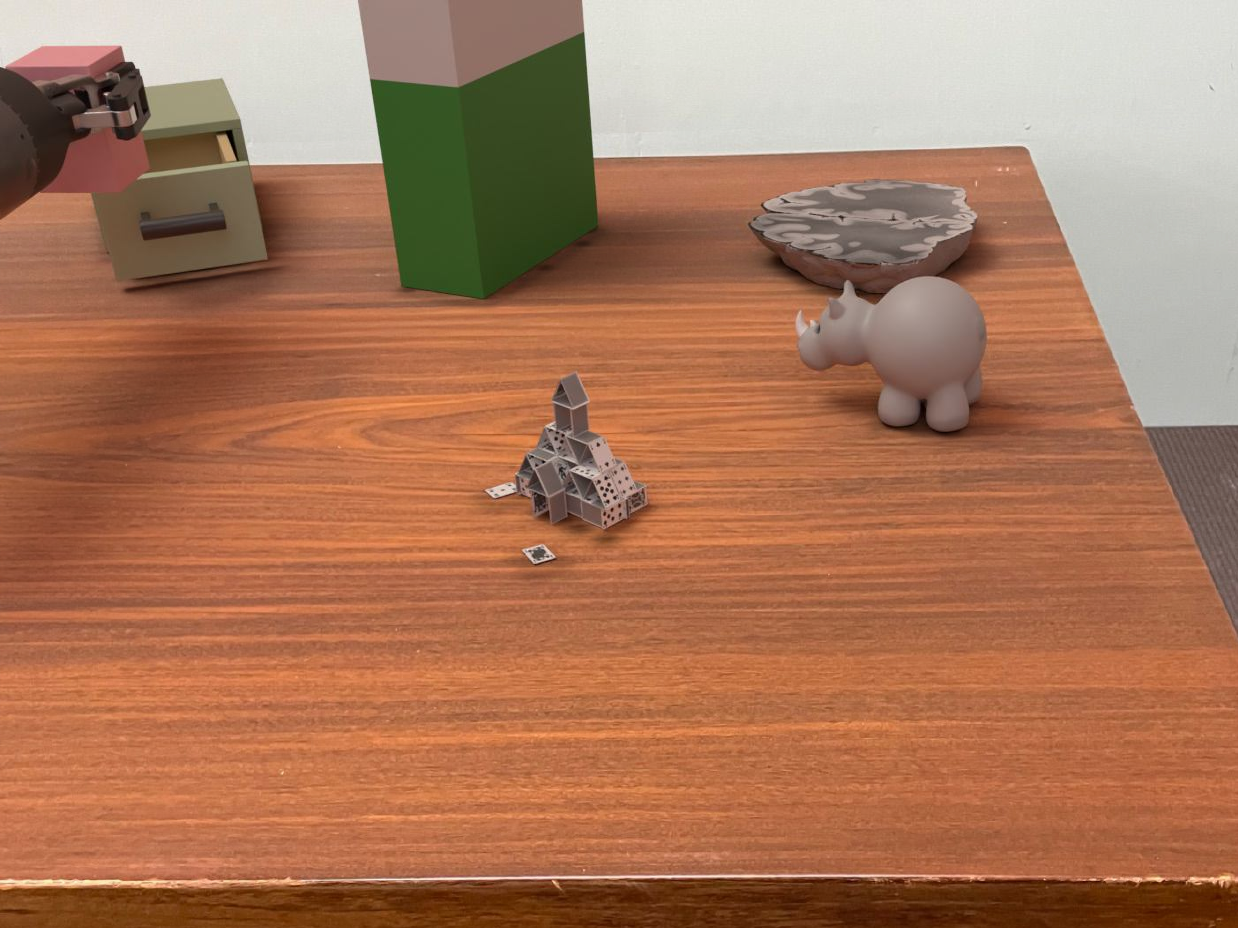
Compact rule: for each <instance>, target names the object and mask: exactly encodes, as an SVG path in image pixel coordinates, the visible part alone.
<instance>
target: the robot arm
mask: <svg viewBox="0 0 1238 928" xmlns="http://www.w3.org/2000/svg"><path fill="white" fill-rule="evenodd" d="M145 87H146V86H145V84H144V80H143V75H141V71H140V68H137V67H136V65H135V63H134V62H133V61H125V62H121V63H119V64H117V65H116V66H114V67H113V68H111V69H109V70H108V71H106V72H105V73H103V74H101V75H98V76H95V77H94V78H93V77H92V76H88V75H80V74H72V75H69V76H65V77H62V78H59V79H56V80H52V81H44V80H37V81H34V82H30V81H29V80H28V79H26V78H25V77H23V76H21V75H20V74H18V73H16V72H14V71H11V70H9V69H6V68H5V67H2V66H0V221H1V220H3V219H5V218H6V217H8V215H10V214H11V213H13V212H15V211H16V210H17V209H18V208H20V207H21V206H23V205H24V204H25V203H27V202H28V201H29V200H30V199H32V198H34V197H35V196H36V195H37V194H39V193H40V191H41V190H43V189H44V188H46V187H47V186H48V185H50V184H51V183H52V182H53V181H54V180H55V179H56V177H57V176H58V174H59V173H60V171H61V169H62V166H63V164H64V161H65V157H66V154H67V150H68V148H69V147H71V146H72V145H73V143H74V142H75V141H77V140H81V139H84V138H86V137H88V136H91V135H94V134H97V133H100V132H102V131H103V130H104V129H105V127H111V129H112V133H113V134H116V138H117V139H119V140H124V141H128V140H131V139H133V138H135V137H137V135H138V134H139V132H140V131H141V129H142V128H143V127H144V125H145V124H146V122H147V121H148V119H149V118H150V117H151V114H150V109H149V105H148V101H147V96H146V92H145ZM101 88H102V90H103V97H104V101H105V104H104V105H101V106H100V102H99V98H98V90H99V89H101ZM69 90H74V92H75V95H74V94H73V93H71V92H70V91H69Z"/></svg>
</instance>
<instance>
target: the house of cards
mask: <svg viewBox="0 0 1238 928" xmlns="http://www.w3.org/2000/svg"><path fill="white" fill-rule="evenodd" d="M550 402H551V403H552V409H553V419H554V421H552V422H550V423H548V424H546V425H544V426H543V429H542V431H541V434H540V436H539V439H538V441H537V443H536V445H535V448H533V449H531V450H528V451H527V452H525V453H524V454H525V455H524V458H523V459H522V463H521V465H520V467H519V470H518V471H517V472H515V473H514V482H515V483H513V482H512V481H509V482H505V483H503V484H500V485H497V486H494V487H490V488H487V489H484V491H485V492H486V493H487V494H488V495H489V496H490V497H492V498H493V499H497V498H501V497H505V496H507V495H510V494H514V493H516V496H519V495H522V496H526V497H528V498H530V503H531V510H532V511H531V512H532V518H533V519H534V518H536V517H538V516H540V515H542V514H543V513H546V512H549V519H550V520H549V522H550V526H552V525H554V524H556V523H558V522H560V521H562V520H563V519H565V518H568V513H569V514H571V515H573V516H576V517H578V518H581V520H582V521H585V522H587V523H589V524H592V525H593V526H596V527H598V528H600V529H601V531H604V530H606V529H608V528H609V527H612V526H613V525H616V524H618V522H620V521H622V520H628V518H631V514H633V513H634V512H636V511H639V510H640V509H642V508H644V507H646V506H647V505H648V504H649V503H648V500H649V499H648V484H647V483H646V484H644V483H642V482H640V481H637V480H635V479H633V476H632V474H631V472H630V470H629V467H628V466H627V463H626V460H623V459H619V458H618V457H614V454H613V452H612V449H611V448H610V445H609V443H608V441H607V439H606V436H605V435H602V434H599V433H596V432H593V431H592V430H590V421H589V420H590V419H589V409H588V408H589V407H588V404H589V403H590V402H591V400H590V398H589V395H588V394H587V391H586V389H585V386H584V385H583V382H582V380H581V378H580V376H579V373H578V370H576V371H574V372H571V373H569V374H567V375H565V376H562V377H560V378H559V380H558V383H557V385H556V387H555V390H554V393H553V395H552V398H551V400H550ZM521 551H522V552H523V554H525V556H526V557H527V558H528V559H529V560H530V561H531V563H533V565H535V564H536V565H537V564H539V563H542V562H546V561H550V560H553V559H556V558H557V556H555V554H554V553H553V552H552V551H550V550H549V548H548V547H547V546H546V545H545V544H544V543H541V544H538V545H534V546H530V547H527V548H523V549H521Z"/></svg>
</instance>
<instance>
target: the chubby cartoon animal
mask: <svg viewBox="0 0 1238 928" xmlns="http://www.w3.org/2000/svg"><path fill="white" fill-rule="evenodd" d="M855 291H856V289H854V287H853V285H852V283H851V282H850V281H849V280H846V282H845V283H844V289H843V293H842V294H841V295H840V296H839V297H837V298H835V297H832V296H830V297H829V298H828V299H827V302H828V305H826V307H825V308H824V310H823V311H822V312H821V314H820V317H819V320H818V321H817V322H816V321H815V320H814V319H810V320H809V325H808V324H807V323H806V321H805V320H804V317H803V311H802V309H800V310H799V311H798V314H797V316H796V318H795V322H794V327H795V333H796V336H797V338H798V339H797V341H798V342H797V345H796V348H797V350H798V353H799V354H798V355H799V358H800V361H801V362H802V363H803V365H804V366H806V367H807V368H808V369H810V370H812V371H817V372H823V371H827V370H830V369H832V368H833V367H834V366H836V365H841V366H846V367H856V366H860V365H862V364H864V363H867V364H870V365H871V366H872V368H873V370H874V372H875V373H876V375H877V376H878V377H879V379H880V380H881V382H882V389H881V392H880V395H879V400H878V403H877V416H878V418H879V420H880V421H881V422H882V423H883V424H885V425H888V426H890V427H891V426H892V427H906V426H910V425H914V424H915V423H917V422H918V421H919V418H920V415H921V404H923V406H924V408H925V409H926V410H925V419H926V423H927V425H928V426H929V428H931V429H932V430H934V431H937V432H942V433H943V432H947V433H948V432H954V431H958V430H961V429H963V428H965V427H966V426H968V423H969V421H970V405H972V404H974V403H976V402H978V400H979V399H980V398H981V395H982V392H983V374H982V370H981V366H980V365H981V362H982V361H983V358H984V355H985V352H986V349H987V342H988V332H987V331H988V330H987V324H986V323H987V322H986V318H985V316H984V313H983V310H982V309H981V307H980V305H979V303H978V302H977V300H976V299H975V298H974V296H973V295H972V294H971V293H970V292H969V291H968V290H966V289H965V288H964V287H963V286H961V285H960V284H958V283H957V282H955V281H953V280H949V279H947V278H945V277H944V278H943V277H941V276H940V277H939V276H935V277H933V276H924V277H917V278H913V279H909V280H907V281H904V282H902V283H900V284H898V285H897V286H895V287H894V288H893V289H891V290H890V291H889V292H888V293H885V294H884V295H883V297H882V298H881V299H880V301H878V302H877V303H876V304H874V303H871V302H869V301H868V300H866V299H865V298H861V297H860V296H857V294H856V292H855Z"/></svg>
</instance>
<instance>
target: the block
mask: <svg viewBox="0 0 1238 928" xmlns="http://www.w3.org/2000/svg"><path fill="white" fill-rule="evenodd" d="M121 62H126V60H125V54H124V50H123V46H122V45H41V46H40V47H37V48H36V49H34V50H33V51H30V52H29V53H27V54H25V55H23V56H22V57H20V58H18V59H16V60H14V61H12V62H11V63H9V64H7V65H5V67H4V68H6V69H9V70H11V71H14V72H16V73H18V74H20V75H21V76H23V77H25V78H26V79H28V80H29V81H30V82H34V81H37V80H44V81H52V80H56V79H59V78H62V77H65V76H69V75H72V74H80V75H88V76H92V77H93V78H94V77H95V76H98V75H101V74H103V73H105V72H106V71H108V70H109V69H111V68H113V67H114V66H116V65H117V64H119V63H121ZM69 91H70V92H71V93H73V94H74V95H75V92H74V90H69ZM98 98H99V102H100V106H101V105H104V104H105V101H104V97H103V90H102V88H101V89H99V90H98ZM149 169H150V166H149V162H148V157H147V153H146V149H145V145H144V140H143V136H142V132H141V131H140V132H139V134H138V135H137V137H135V138H133V139H131V140H128V141H124V140H119V139H117V138H116V134H113V133H112V129H111V127H105V129H104V130H103V131H102V132H100V133H97V134H94V135H91V136H88V137H86V138H84V139H81V140H77V141H75V142H74V143H73V145H72V146H71V147H69V148H68V150H67V154H66V157H65V161H64V164H63V166H62V169H61V171H60V173H59V174H58V176H57V177H56V179H55V180H54V181H53V182H52V183H51V184H50V185H48V186H47V187H46V188H44V189H43V190H41V191H40V192H39V193H40V194H91V193H120V192H121V191H123V190H124V189H125V188H126V187H127V186H129V185H130V184H131V183H132V182H134V181H135V180H136V179H137V178H139V177H140V176H141V175H142V174H144V173H145V172H146V171H147V170H149Z"/></svg>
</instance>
